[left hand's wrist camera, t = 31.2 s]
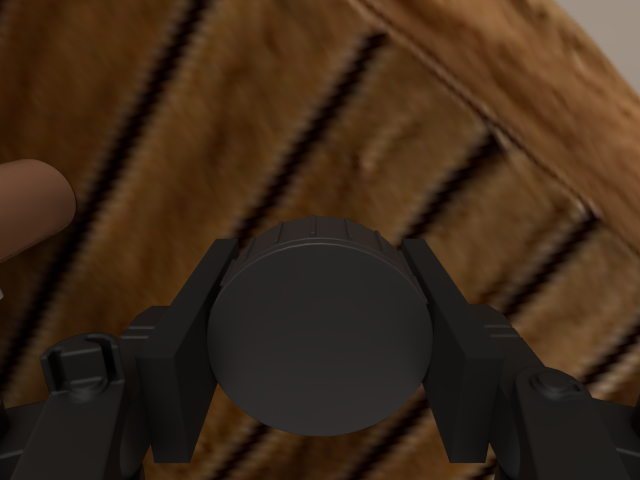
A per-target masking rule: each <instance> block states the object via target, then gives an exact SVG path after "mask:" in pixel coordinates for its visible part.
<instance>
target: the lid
mask: <svg viewBox="0 0 640 480" xmlns="http://www.w3.org/2000/svg"><path fill="white" fill-rule="evenodd" d="M220 286H222V288H221V290H220V292H219V294H218V296H217V298H216V300H215V302H214V304H213V306H212V308H211V310H210V316H209V320H208V325H207V332H206V338H207V348H208V357H209V362H210V365H211V368H212V371H213V373H214V375H215V377H216V379H217V381H218V383H219V385H220V386H221V388H222V389H223V391H224V392H225V393H226V395H227V396H228V397H229V398H230V399H231V400H232V401H233V402H234V403H235V404H236V405H237V406H238V407H239V408H240V409H241V410H243V411H244V412H245V413H247V414H248V415H250V416H251V417H253V418H254V419H256V420H258V421H260V422H262V423H264V424H265V425H268V426H270V427H273V428H275V429H278V430H281V431H285V432H289V433H293V434H299V435H306V436H334V435H341V434H347V433H351V432H355V431H359V430H361V429H364V428H367V427H370V426H372V425H374V424H376V423H378V422H380V421H382V420H384V419H385V418H387V417H389V416H390V415H392V414H393V413H395V412H396V411H397V410H398V409H399V408H401V407H402V406H403V405H404V404H405V403H406V402H407V401H408V400H409V399H410V398H411V397H412V396H413V394H414V393H415V392H416V390H417V389H418V388H419V386H420V384H421V383H422V381H423V379H424V377H425V375H426V373H427V370H428V368H429V365H430V362H431V355H432V346H433V325H432V321H431V317H430V313H429V311H428V308H427V306H426V305H427V304H428V301H427V299H426V297H425V295H424V293H423V291H422V289H421V287H420V285H419V283H418V281H417V279H416V277H415V276H413V274H412V272H411V270H410V268H409V266H408V264H407V262H406V260H405V258H404V256H403V254H402V252H401V251H400V250H399V251H398V252H397V250H396V249H395V248H394V247H393V246H392V245H391V244H390V243H389V242H388V241H387V240H385V239H384V238H383V237H382V236H381V235H380V233H379V231H377V230H376V231H375V232H374V231H373V230H371V229H369V228H367V227H365V226H363V225H360V224H358V223H355V222H352V221H350V220H349V218H345V220H344V219H340V218H333V217H316V215H312V217H306V218H300V219H295V220H292V221H288V222H285V223H283V221H281V222H279V224H278V225H277V226H275V227H273V228H271V229H269V230H267V231H266V232H264V233H263V234H261V235H259V236H258V237H257V238H255V237H253V238H252V239H251V241H250V243H249V245H248V246H247V247H246V248H245V249H244V250H243V251H242V252H241V254H240V255H239V257H238V258H237V260H234V259H233V260H232V262H231V264H230V266H229V268H228V270H227V272H226V274H225V276H224V278H223V280H222V282H221V284H220Z"/></svg>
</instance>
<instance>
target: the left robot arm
mask: <svg viewBox="0 0 640 480" xmlns="http://www.w3.org/2000/svg"><path fill="white" fill-rule="evenodd" d="M401 252H402V254H403V256H404V258H405V260H406V262H407V264H408V266H409V268H410V270H411V272H412V274H413V276H415V277H416V279H417V281H418V283H419V285H420V287H421V289H422V291H423V293H424V295H425V297H426V299H427V301H428V304H427V305H426V306H427V308H428V311H429V313H430V317H431V321H432V325H433V346H432V355H431V362H430V365H429V368H428V370H427V373H426V375H425V377H424V379H423V381H422V384H423V387H424V389H425V392H426V395H427V398H428V401H429V404H430V407H431V410H432V412H433V415H434V418H435V421H436V424H437V427H438V430H439V433H440V435H441V438H442V441H443V444H444V447H445V450H446V453H447V456H448V458H449V461H450V463H485V461H486V456H487V451H488V445H489V443H490V445H491V447H492V449H493V451H494V453H495V455H496V457H497V459H498V463H497V468H496V473H495V478H494V480H640V395H639V397H638V400H637V403H636V406H635V407H632V406H627V405H622V404H618V403H613V402H608V401H603V400H599V399H595V398H592V396H591V394H590V393H589V391H588V390H587V389H586V387H585V386H584V385H583V384H582V383H580V382H579V381H578V380H576V379H575V378H574V377H572V376H570V375H568V374H566V373H564V372H562V371H560V370H557V369H553V368H549V367H545V366H544V364H543V363H542V362H541V361H540V359H539V358H538V357H537V356H536V355H535V353H534V352H533V351H532V350H531V348H530V347H529V346H528V345H527V343H526V342H525V341H524V340H523V338H522V337H520V335H519V334H518V332H517V331H516V330H515V329H514V328H512V325H511V324H510V322H509V321H508V320H507V319H506V318H505V316H504V315H503V314H502V313H500V312H498V311H497V310H495V309H494V308H492V307H491V306H489V305H469V304H468V302H467V301H466V299H465V298H464V296H463V295H462V294H461V292H460V291H459V289H458V288H457V286H456V285H455V283H454V282H453V281H452V279H451V278H450V276H449V275H448V273H447V272H446V270H445V269H444V268H443V266H442V265H441V263H440V262H439V260H438V259H437V257H436V256H435V255H434V253H433V252H432V250H431V249H430V247H429V246H428V244H427V243H426V241H425V240H424V239H402V242H401ZM238 257H239V245H238V239H216V240H215V241H214V243H213V244H212V245H211V247H210V248H209V250H208V251H207V253H206V254H205V256H204V257H203V258H202V260H201V261H200V263H199V264H198V266H197V267H196V269H195V270H194V271H193V273H192V274H191V276H190V277H189V279H188V280H187V282H186V283H185V285H184V286H183V287H182V289H181V290H180V292H179V293H178V295H177V296H176V298H175V299H174V300H173V302H172V303H171V305H170V306H152V307H150V308H148V309H147V310H145V311H144V312H142V313H141V314H139V315H137V316H136V318H135V319H134V320H133V321H132V323H131V324H130V325H129V326H128V329H126V330H125V331H124V333H123V334H122V335H121V336H120V339H117V338H116V337H114V336H113V335H112V334H108V333H103V332H93V333H85V334H80V335H76V336H72V337H70V338H67V339H65V340H62V341H60V342H58V343H56V344H55V345H53V346H52V347H50V348H48V349H47V350H46V351H45V352H44V353H43V354H42V356H41V357H40V362H41V365H42V369H43V372H44V376H45V379H46V383H47V386H48V390H49V393H50V395H49V397H48V399H47V400H44V401H40V402H36V403H31V404H26V405H22V406H17V407H12V408H8V409H5V407H4V404H3V401H2V398H1V396H0V480H145V474H144V468H143V463H142V461H143V459H144V457H145V455H146V452H147V450H148V448H149V446H150V444H151V447H152V452H153V457H154V463H190V461H191V458H192V455H193V452H194V449H195V446H196V443H197V440H198V438H199V435H200V432H201V429H202V426H203V423H204V420H205V417H206V415H207V412H208V409H209V406H210V403H211V400H212V397H213V394H214V392H215V389H216V386H217V383H218V381H217V379H216V377H215V375H214V373H213V371H212V368H211V365H210V362H209V357H208V348H207V338H206V332H207V325H208V320H209V316H210V310H211V308H212V306H213V304H214V302H215V300H216V298H217V296H218V294H219V292H220V290H221V288H222V286H220V284H221V282H222V280H223V278H224V276H225V274H226V272H227V270H228V268H229V266H230V264H231V262H232V260H233V259H234V260H237V258H238Z"/></svg>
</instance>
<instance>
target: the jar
mask: <svg viewBox="0 0 640 480" xmlns="http://www.w3.org/2000/svg"><path fill="white" fill-rule="evenodd" d="M75 210H76V200H75V196H74V192H73V190H72V188H71V186H70V184H69V183H68V181H67V180H66V178H65V177H64V176H63V175H62V174H61V173H60V172H59V171H58V170H56V169H55V168H53V167H52V166H50V165H48V164H46V163H44V162H41V161H38V160H33V159H21V160H15V161H11V162H6V163H2V164H0V264H1V263H2V262H4V261H6V260H8V259H10V258H12V257H14V256H15V255H17V254H19V253H21V252H23V251H25V250H27V249H28V248H30V247H32V246H34V245H36V244H38V243H40V242H42V241H43V240H45V239H47V238H49V237H51V236H53V235H55V234H56V233H58V232H60V231H62V230H63V229H65V228H66V227H67V226H68V225H69V224H70V223H71V221H72V219H73V217H74V214H75Z"/></svg>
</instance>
